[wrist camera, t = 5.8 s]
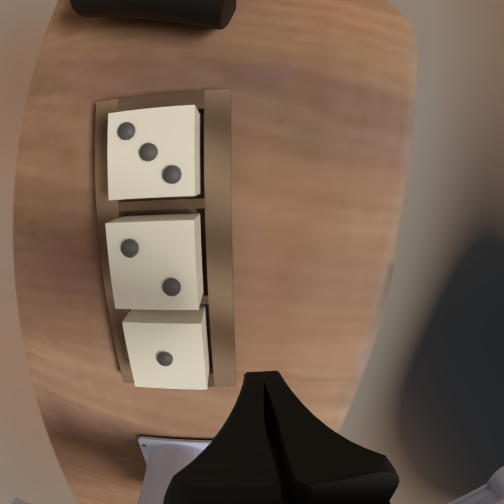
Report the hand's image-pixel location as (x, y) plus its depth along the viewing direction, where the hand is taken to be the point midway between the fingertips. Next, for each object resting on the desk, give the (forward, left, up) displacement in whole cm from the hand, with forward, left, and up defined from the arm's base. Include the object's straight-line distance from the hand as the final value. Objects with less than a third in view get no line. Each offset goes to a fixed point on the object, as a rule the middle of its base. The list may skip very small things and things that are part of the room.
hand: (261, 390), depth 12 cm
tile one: (-3, +5, -10) cm, 11 cm away
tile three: (+10, +6, -10) cm, 15 cm away
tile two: (+4, +6, -9) cm, 11 cm away
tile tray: (+4, +6, -10) cm, 12 cm away
